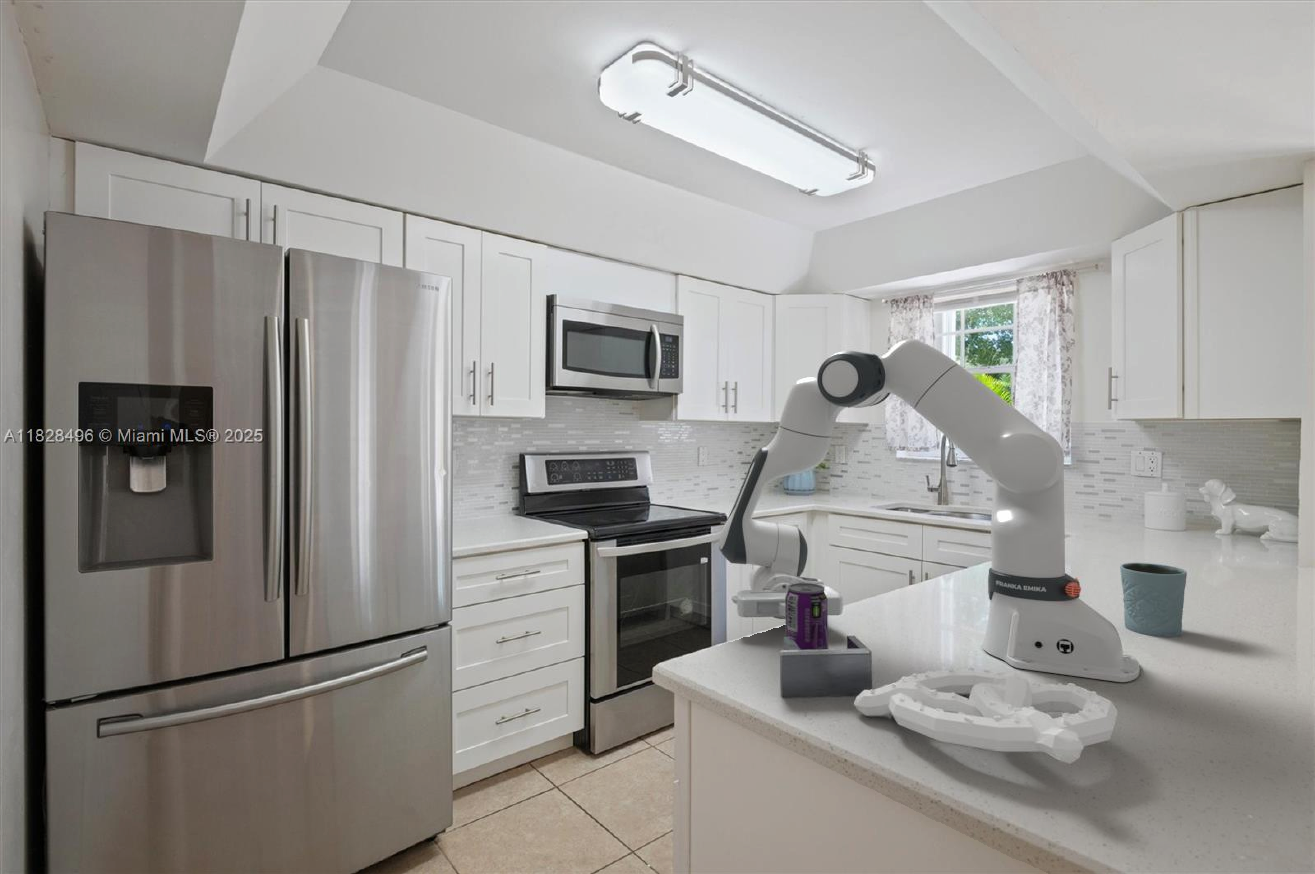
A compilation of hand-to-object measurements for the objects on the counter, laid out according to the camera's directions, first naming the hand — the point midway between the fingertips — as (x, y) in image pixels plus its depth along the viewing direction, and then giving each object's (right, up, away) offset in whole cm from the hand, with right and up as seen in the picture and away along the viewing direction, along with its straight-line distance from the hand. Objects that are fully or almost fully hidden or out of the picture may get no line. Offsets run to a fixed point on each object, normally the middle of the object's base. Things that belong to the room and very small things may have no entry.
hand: (798, 614), depth 116 cm
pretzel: (+16, -6, -35) cm, 39 cm away
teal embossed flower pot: (+69, -5, +6) cm, 70 cm away
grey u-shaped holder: (-1, -6, -18) cm, 19 cm away
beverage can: (0, -6, -6) cm, 8 cm away
